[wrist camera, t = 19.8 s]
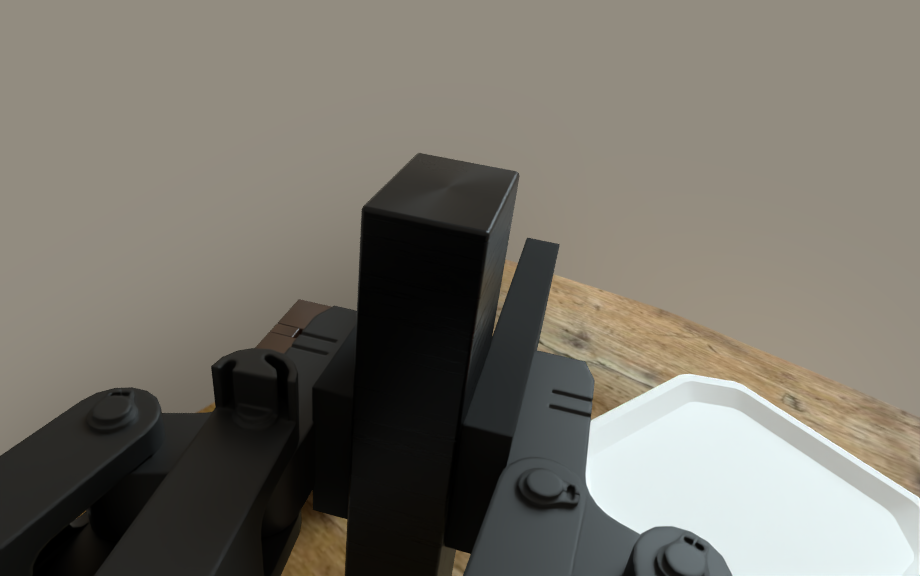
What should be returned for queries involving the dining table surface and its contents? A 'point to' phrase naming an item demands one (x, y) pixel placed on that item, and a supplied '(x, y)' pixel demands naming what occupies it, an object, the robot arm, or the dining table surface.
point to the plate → (749, 484)
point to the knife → (420, 354)
